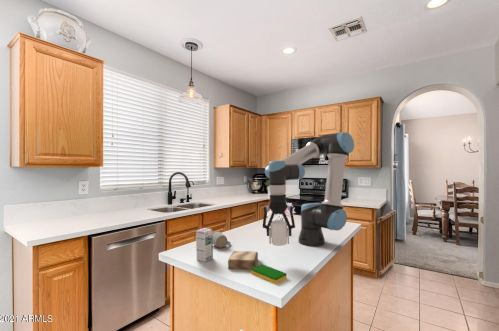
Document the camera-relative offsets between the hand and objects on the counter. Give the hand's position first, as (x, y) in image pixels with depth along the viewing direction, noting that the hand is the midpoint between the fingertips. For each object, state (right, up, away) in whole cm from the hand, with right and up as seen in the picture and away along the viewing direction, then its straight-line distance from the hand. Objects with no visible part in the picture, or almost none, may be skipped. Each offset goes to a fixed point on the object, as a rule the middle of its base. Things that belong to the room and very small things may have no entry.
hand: (279, 242), depth 115 cm
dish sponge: (-6, -10, -13) cm, 17 cm away
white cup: (0, -1, 0) cm, 1 cm away
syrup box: (-36, -10, +6) cm, 38 cm away
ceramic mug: (-30, -10, +27) cm, 41 cm away
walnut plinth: (-17, -10, 0) cm, 19 cm away
